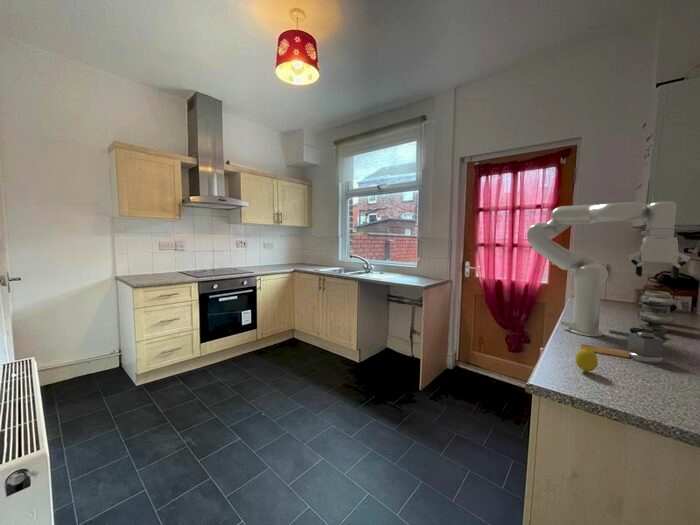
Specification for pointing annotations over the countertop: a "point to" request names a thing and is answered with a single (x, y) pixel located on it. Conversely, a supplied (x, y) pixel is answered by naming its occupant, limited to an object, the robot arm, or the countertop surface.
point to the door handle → (635, 330)
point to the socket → (645, 344)
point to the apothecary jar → (656, 310)
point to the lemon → (586, 360)
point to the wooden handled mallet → (623, 354)
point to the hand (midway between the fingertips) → (656, 277)
